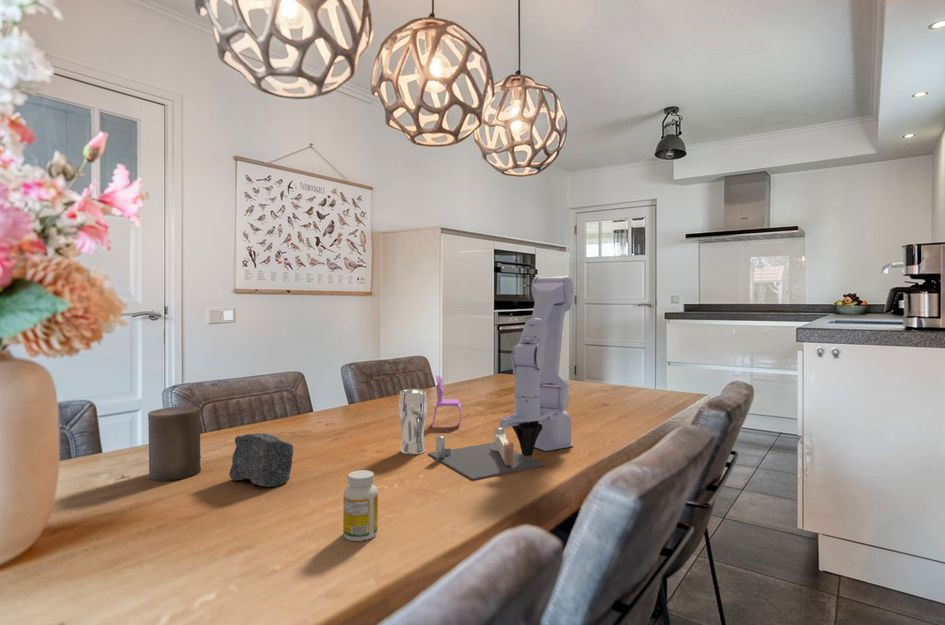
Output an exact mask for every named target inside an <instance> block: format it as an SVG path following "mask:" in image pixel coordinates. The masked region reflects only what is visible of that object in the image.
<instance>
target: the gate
mask: <svg viewBox="0 0 945 625" xmlns="http://www.w3.org/2000/svg"><path fill="white" fill-rule="evenodd" d="M507 438H508V436H507V435H506V433H504V434H495V449H496V450H497V451H499V453H500V455H501V457H502V459H503V461H504V463H505V465H513V460H514V451H515V450H514V443H513V442H509V440H508V439H507Z"/></svg>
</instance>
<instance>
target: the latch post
mask: <svg viewBox="0 0 945 625" xmlns="http://www.w3.org/2000/svg"><path fill="white" fill-rule="evenodd" d="M445 438H446V436H445V435H437V436H436V437H435V452H436V459H435V461H436V462H439V463H440V460H443V459H445V456H448V455H451V449H452V448H450V447H446V442H445V441H446V439H445Z"/></svg>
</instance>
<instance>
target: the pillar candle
mask: <svg viewBox="0 0 945 625" xmlns="http://www.w3.org/2000/svg"><path fill="white" fill-rule="evenodd" d="M200 411H201V410H200V407H199V406H196V405H195V406H194V405H190V406H189V405H185V406H184V405H183V406H179V405H178V406H177V404H174V406H171V407H164V408H158V409H155V410H152V411H149V412H148V413H147V421H148V422H147V423H148V472H149V473H148V476H149V479H150V480H151V481H155V482H165V481H166V482H168V481H174V480H176V481H177V480H181V479H186V478H190V477H193V476H196V475H197V474H199V473H200V472H201V471H202V469H201V468H202V467H201V461H202V460H201V412H200Z"/></svg>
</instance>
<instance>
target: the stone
mask: <svg viewBox="0 0 945 625" xmlns="http://www.w3.org/2000/svg"><path fill="white" fill-rule="evenodd" d="M234 443H235V449H234V452H233V455H232V457H231V458H232V459H231V463H232V465H231V467H230V471H229V474H228V475H229V478H230V479H231V480H232V481H242V480H250V482H251V483H252V484H253V485H257V486H259V487H262V488H263V487H265V488H266V487H267V488H269V487H276V486H282V485H283V484H285V483H287V482H288V481H290V478H291V477H290V476H291V471H292V470H291V469H292V465H293V457H294V445H293V444H292V443H290V442H286V441H284V440H282V439H280V438H279V437H276V436H274V435H273V434H269V433H266V432H260V433H259V432H257V433H247V434H243V435H237V436H236V437H235V438H234ZM281 484H282V485H281Z"/></svg>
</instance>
